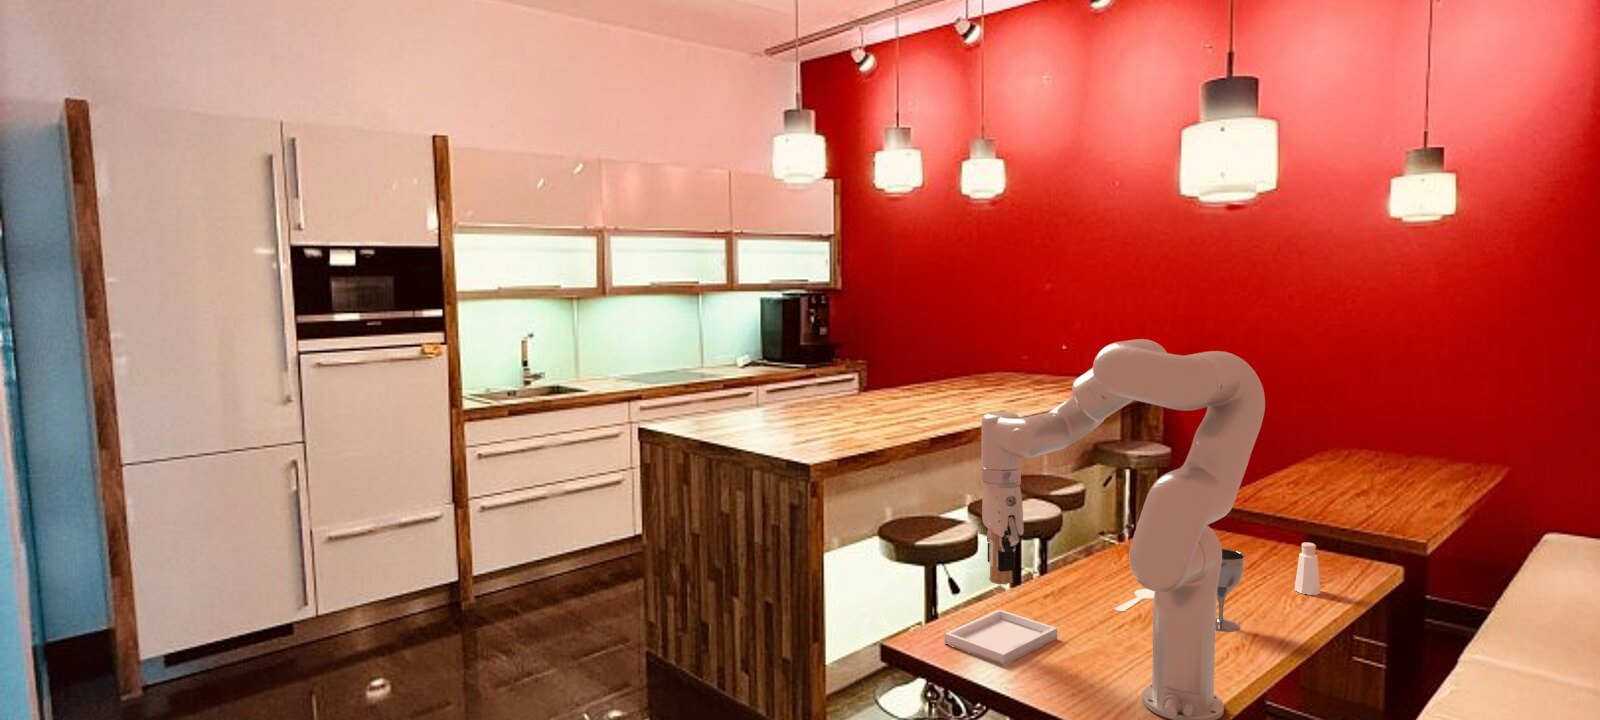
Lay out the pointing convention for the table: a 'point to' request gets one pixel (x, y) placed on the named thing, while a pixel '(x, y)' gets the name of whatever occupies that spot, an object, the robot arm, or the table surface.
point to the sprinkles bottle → (995, 574)
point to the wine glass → (1228, 585)
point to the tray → (1001, 636)
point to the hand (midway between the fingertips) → (1000, 565)
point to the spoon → (1136, 599)
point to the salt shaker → (1308, 571)
